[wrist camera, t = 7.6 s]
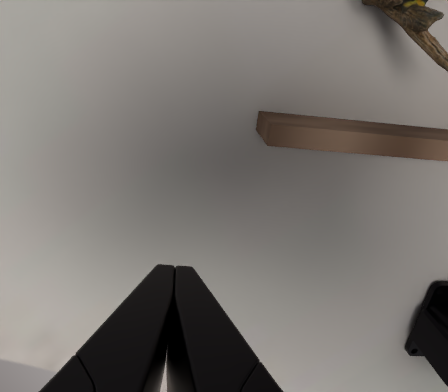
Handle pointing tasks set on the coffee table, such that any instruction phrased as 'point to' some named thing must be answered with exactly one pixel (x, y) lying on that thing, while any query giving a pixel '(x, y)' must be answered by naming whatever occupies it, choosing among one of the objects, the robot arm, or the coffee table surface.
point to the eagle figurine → (415, 24)
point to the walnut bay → (352, 136)
